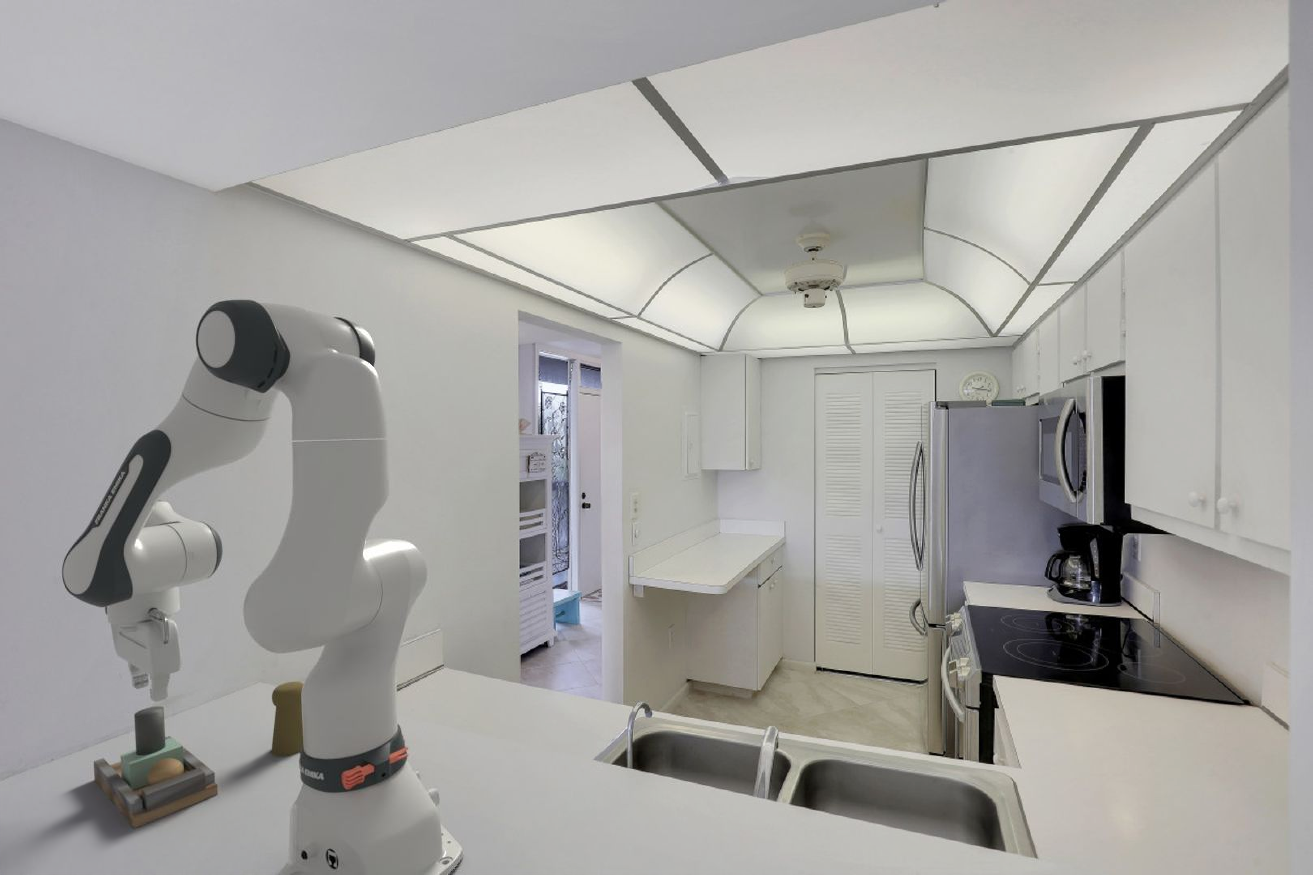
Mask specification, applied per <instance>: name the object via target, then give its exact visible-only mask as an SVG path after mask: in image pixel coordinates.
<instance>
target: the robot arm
mask: <svg viewBox="0 0 1313 875" xmlns="http://www.w3.org/2000/svg"><path fill="white" fill-rule="evenodd" d="M197 325H198V326H197V327H196V332H195V346H196V352H197V357H196V359H195V360H194V362H193V364H192V366H191V369H190V371H189V373H188V376H187V378H186V381H185V384H184V386H183V389H182V392H181V394H180V396H179V399H178V402H176V404H175V406H174V407H173V409H172V410H171V411H170V413H168V415H167V416H166V417H165V418H164V419H163V420H162V422H161V423H159V424H158V425H157V426H156V427H155V428H154V429H152V430H150V431H149V432H147V433H146V434H144V435H142V436H141V437H139V438H138V439H137V441H136V442H135V443H134V444H133V446H132V447H131V448H130V450H129V452H128V453H127V455H126V456H125V458H124V459H123V462H122V463H121V465H120V467H119V469H118V471H117V472H116V474H115V476H114V477H113V480H112V482H111V483H110V485H109V487H108V489H107V491H106V492H105V493H104V494H105V495H104V496H103V498H102V500H101V502H100V503H99V506H98V508H97V509H96V511H95V513H94V515H93V517H92V518H91V520H90V522H89V523H88V525H87V527H86V529H85V530H84V531H83V532H82V533H81V534H80V536H79V537H78V538H77V539H76V540H75V542H74V543H73V544H72V546H71V547H70V548H69V550H68V551H67V553H66V554H65V557H64V559H63V562H62V567H61V568H62V569H61V576H62V581H63V582H62V583H63V586H64V587H65V590H66V592H68V593H69V594H70V595H72V596H73V597H74V598H76V599H78V600H79V601H82V602H84V603H86V604H89V605H92V606H94V607H98V608H104V613H105V615H106V616H107V623H108V624H110V628H111V634H112V640H113V645H114V649H115V652H116V655H117V656H118V657H119V658H121V659H123V660H124V661H125V662H127V666H128V669H129V672H130V675H131V684H132V685H131V686H132V688H134V689H136V690H139V689H142V688H146V687H148V686H149V679H150V682H151V684H150V686H151V688H149V694H150V696H149V698H150V699H151V700H152V701H153V702H155V703H156V702H160V701H163V700H166V699H167V698H168V687H169V683H170V682H169V681H170V679H171V678H170V677H171V674H175V673H177V672H179V671H180V670H181V668H182V665H183V664H182V662H183V661H182V660H183V658H182V651H181V650H182V649H181V643H180V642H181V640H180V635H179V629H178V626H177V623H176V622H175V621H174V620H173V619H172V618H171V617H172V616H171V615H173V614H176V613H178V612H179V611H180V610H181V602H180V601H181V600H180V587H183V586H187V585H191V584H195V583H199V582H202V581H204V580H207V579H209V578H210V577H211V576H213V574H215V573H216V572H217V570H218V568H219V566H220V564H221V561H222V559H223V558H222V557H223V543H222V539H221V537H220V535H219V533H218V532H217V531H216V529H214V527H212V526H211V525H209V524H208V523H206V522H204V521H197V520H196V521H195V520H193V519H190V518H187V517H184V516H182V515H180V514H179V513H177V512H175V511H174V510H173V508H172V505H171V504H170V503H169V502H167V501H165V500H160V499H161V497H162V496H163V495H164V494H165V493H166V492H167V491H169V489H171V488H172V487H174V486H176V485H178V484H179V483H181V482H183V481H185V480H187V479H189V478H191V477H194V476H196V475H199V474H201V473H204V472H207V471H208V472H209V471H210V470H213V469H217V468H219V467H223V466H227V465H230V464H232V463H235V462H237V461H239V460H241V459H243V458H244V457H246V456H248V455H250V454H251V453H252V452H253V451H255V449H256V448H257V447H258V446H259V444H260V443H261V441H262V440H263V438H264V437H265V435H266V433H267V431H268V428H269V426H270V422H271V419H272V417H273V414H274V411H275V408H276V405H277V401H278V398H279V396H280V393H281V392H282V394H284V395H285V397H287V399H288V401H289V403H290V407H291V415H292V416H291V417H292V418H291V419H292V420H291V441H292V442H291V446H292V447H291V448H292V453H291V454H292V494H291V495H292V496H291V506H290V511H289V514H288V519H287V523H286V526H285V528H284V532H283V535H282V538H281V539H280V542H279V543H278V544H279V545H278V546H277V548H276V551H275V553H274V554H273V557H272V558H271V560H270V562H269V563H268V565H267V566H266V567H265V568H264V569H263V571H262V572H261V573H260V574H259V575H258V576H257V577H256V578H255V580H253V581H252V583H251V584H250V586H249V587H248V589H247V590H246V591H247V592H246V593H245V597H244V601H243V607H242V615H243V619H244V620H243V621H244V624H245V625H244V626H245V628H246V631H247V632H248V633H249V635H250V637H251V639H252V640H254V642H255V643H256V644H258V646H259V647H261V648H263V649H265V650H266V651H268V652H270V653H274V654H287V653H288V654H289V653H296V652H301V651H307V650H312V649H317V648H320V647H322V646H323V648H322V652H321V654H320V656H319V658H318V660H317V662H316V663H315V664H314V666H313V667H312V669H311V670H310V671H309V673H308V674H307V677H306V678H305V680H304V682H303V684H304V685H303V688H302V693H301V700H302V722H303V746H302V747H301V750H300V752H299V760H298V768H299V771H300V776H299V777H300V780H301V782H302V784H301V788H300V790H299V793H298V796H297V797H296V799H295V801H294V803H293V804H292V807H291V808H290V812H289V831H288V832H289V835H288V863H287V865H286V866H284V868H283V869H282V870H281V871H280V872H279V873H278V875H447V874H449V873H450V872H451V871H452V870H453V869H454V870H455V869H456V868H457V867H456V866H458V865H459V864H460V863H459V862H461V861H462V859H463V857H464V851H463V847H462V846H461V845H460V843H459V842H458V841H457V840H456V839H455V838H454V836H452V835H451V833H449V831H448V830H447V829H446V828H445V827H444V826H443V825H442V824H441V819H440V818H441V817H440V813H439V810H438V808H437V807H438V806H439V805H440V794H439V792H438V790H437V788H435V787H431V788H429V789H427V790H426V788H425V787H424V785H423V783H422V782H421V774H420V772H419V771H418V770H415V771H414V770H413V768H412V767H411V765H410V763H409V761H407V760H408V756H409V754H408V752H407V751H408V750H409V747H408V746H406V745H405V744H406V739H405V737H404V735H403V732H402V729H401V726H400V724H399V723H398V701H397V700H398V699H397V698H398V690H397V688H398V687H397V679H398V678H397V677H398V666H399V665H398V664H399V658H400V654H401V653H400V652H401V649H402V643H403V640H404V636H405V633H406V632H405V631H406V628H407V624H408V620H409V618H410V615H411V612H412V609H413V607H414V605H415V603H416V601H417V599H418V598H419V596H420V594H421V593H422V592H423V590H424V588H425V586H426V582H427V576H428V570H427V563H426V561H425V558H424V556H423V554H422V552H421V551H420V550H419V548H417V546H415V544H413V543H411V542H409V541H407V540H404V539H397V538H371V539H368V538H367V537H368V534H369V532H370V527H371V525H372V523H373V521H374V519H375V517H376V515H377V514H379V512H380V510H381V509H382V508H383V506H384V505H385V504H386V502H387V501H388V497H389V493H390V492H389V491H390V486H389V485H390V482H389V480H390V478H389V477H390V476H389V453H388V451H389V450H388V448H389V447H388V446H389V445H388V424H387V416H386V408H385V401H384V396H383V392H382V386H381V382H380V378H379V374H378V372H377V371H376V369H375V368H374V367H375V361H376V349H375V345H374V342H373V339H372V337H371V335H370V334H369V332H368V331H367V330H366V329H365V328H363V327H362V326H361V325H358V324H357V323H355V322H353V321H351V320H348V319H345V318H343V317H340V316H338V317H337V316H335V317H333V316H330V315H326V314H323V313H319V312H314V311H311V310H307V309H305V308H302V307H299V306H293V305H287V304H278V303H266V302H265V303H264V302H257V301H255V300H252V299H229V300H222V301H217V302H215V303H213V304H212V305H211V306H210V307H208V308H207V310H205V312H204V314H203V315H202V316H201V318H200V320H199V322H198V324H197ZM367 539H368V540H367ZM460 860H461V861H460ZM458 863H459V864H458ZM457 864H458V865H457ZM455 867H456V868H455ZM454 870H453V871H454ZM453 871H452V872H453ZM452 872H451V873H452ZM451 873H450V874H451ZM450 874H449V875H450Z"/></svg>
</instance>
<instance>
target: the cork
mask: <svg viewBox="0 0 1313 875" xmlns="http://www.w3.org/2000/svg"><path fill="white" fill-rule="evenodd" d="M303 685H304V682H301V681H289V682H285V683H282V684H280V685H278V686H277V687H275V688H274V689H273V690H272V694H271V701H272V705H274V706H275V713H274V721H273V722H274V724H273V732H272V742H271V743H272V744H271V755H272V756H276V757H286V756H292V755H295V754H298V753H299V754H300V750H301V747H302V746H303V722H302V700H301V693H302V688H303Z"/></svg>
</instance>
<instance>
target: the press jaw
mask: <svg viewBox="0 0 1313 875" xmlns="http://www.w3.org/2000/svg"><path fill="white" fill-rule="evenodd" d="M133 718H134V733H135V734H134V736H135V749H134V750H131V751H128V752H125V753H122V754H120V762H121V776H122V779H123V780H124V781H125V782H126V783H127V784H128V785H129V787H130V788H131V789H132V790H135V789H137V788H140V787H143V786H145V785H148V784H147V775H148V772H149V771H150V769H151V768H152V767H153V766H154V765H155V764H156V763H157V762H159V761H161V760H163V759H167V758H173V759H177V760H179V761H180V762H181V763H182V765H183V767H184V762H183V747H184V746H183V745H182V744H181V743H180V742H179V741H177V740H176V739H175V738H174V737H172V738H169V739H166V740H165V737H166V729H165V728H166V726H165V725H166V724H165V708H164V706H161V705H159V706H151V707H146V708H143V709H140V710H138V711H136V712H135V713H134V717H133Z"/></svg>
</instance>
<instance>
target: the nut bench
mask: <svg viewBox="0 0 1313 875" xmlns="http://www.w3.org/2000/svg"><path fill="white" fill-rule="evenodd" d="M169 738H173V737H171V735H169V736H168V735H167V736H165V740H166V739H169ZM183 762H184V773H183V774H181V775H178V776H176V777H173V778H170V779H168V780H165V781H162V782H160V783H157V784H155V785H152V786H148V785H145V786H143V787H140V788H137V789H135V790H132V789H131V788H130V787H129V785H128V784H127V783H126V782H125V781H124V780H123V779H122V776H121V761H118V762H115V763H112V764H109V762H108V761H107V760H106V759H105V758H99V759H96V760H93V776H94V781H95V782H96V783H97V785H98V786H99V787H100V789H102V791H103V792H104V793H105V795H106V796H107V797H108V798H109V799H110V800H111V801H112V803H113V804H114V805H115V806H116V808H117V809H118V810H119V811H120V812H121V814H122V815H123V816H124V818H125V819H126V820H127V821H128V823H129V824H130V825H131V826H132V827H133V829H137V828H139V827H141V826H145V825H146V824H149V823H150V822H154V821H156V820H158V819H161V818H163V817H165V816H168V815H171V814H172V813H176V812H178V811H180V810H182V809H185V808H188V807H190V806H192V805H195V804H197V803H199V802H202V801H205V800H207V799H210V798H212V797H214V796H216V795H219V794H218V793H219V791H218V790H219V788H218V783H217V782H216V776H215V775H216V773H215V771H213V770H212V769H211V768H209V767H208V766H207V765H206V764H205V763H204V762H202V761H201V760H200V759H198V758H197V756H195V755H194V754H192V753H191V751H189V750H188V749H187V748H186V747H184V746H183Z"/></svg>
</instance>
